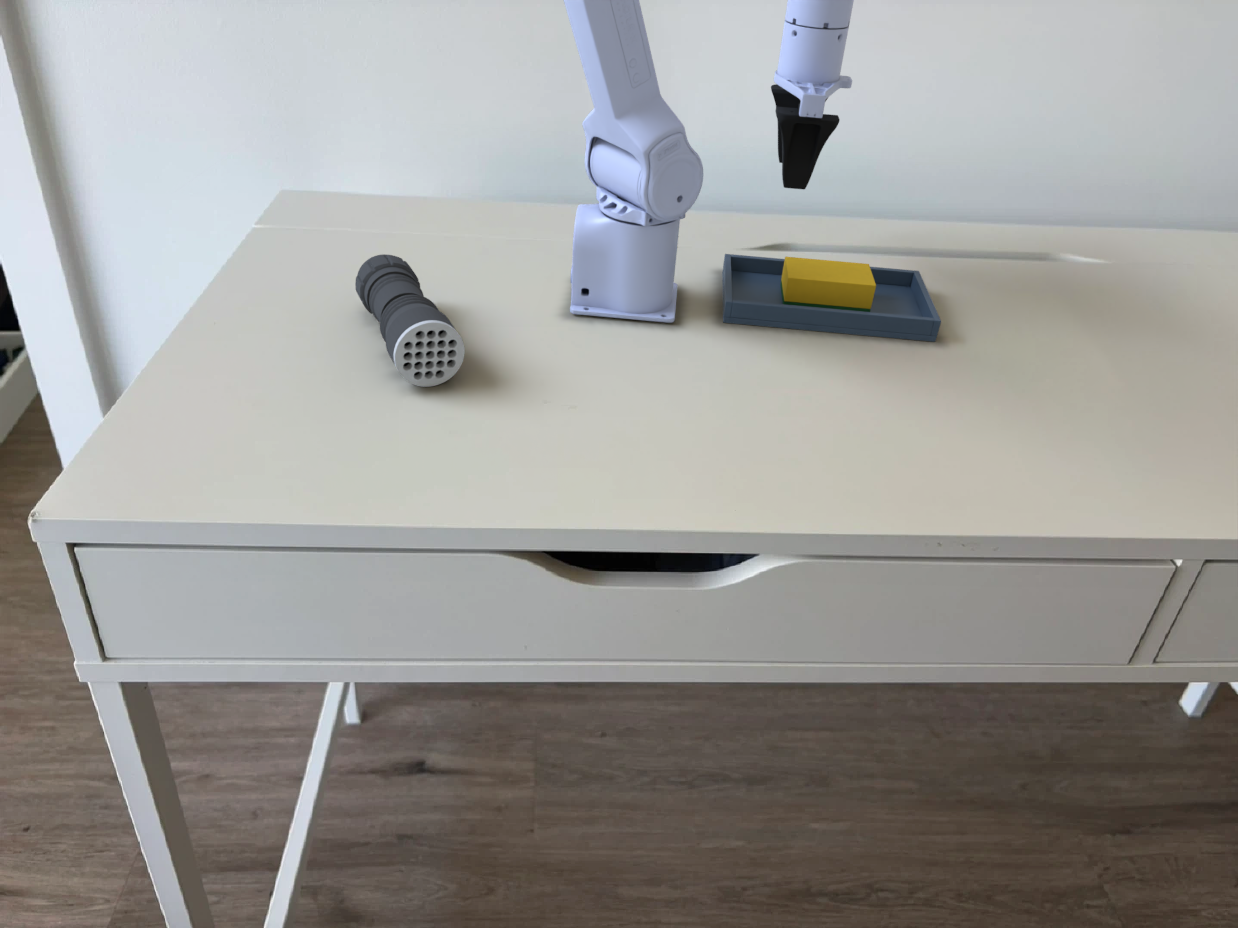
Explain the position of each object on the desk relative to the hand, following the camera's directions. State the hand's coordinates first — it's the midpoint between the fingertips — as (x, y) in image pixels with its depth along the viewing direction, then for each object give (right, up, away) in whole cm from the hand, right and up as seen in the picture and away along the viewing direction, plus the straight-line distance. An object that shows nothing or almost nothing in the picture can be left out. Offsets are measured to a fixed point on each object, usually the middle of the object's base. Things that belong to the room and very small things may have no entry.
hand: (791, 174), depth 91 cm
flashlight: (-35, -18, -13) cm, 41 cm away
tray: (+3, -13, -2) cm, 14 cm away
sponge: (+3, -13, -2) cm, 13 cm away
